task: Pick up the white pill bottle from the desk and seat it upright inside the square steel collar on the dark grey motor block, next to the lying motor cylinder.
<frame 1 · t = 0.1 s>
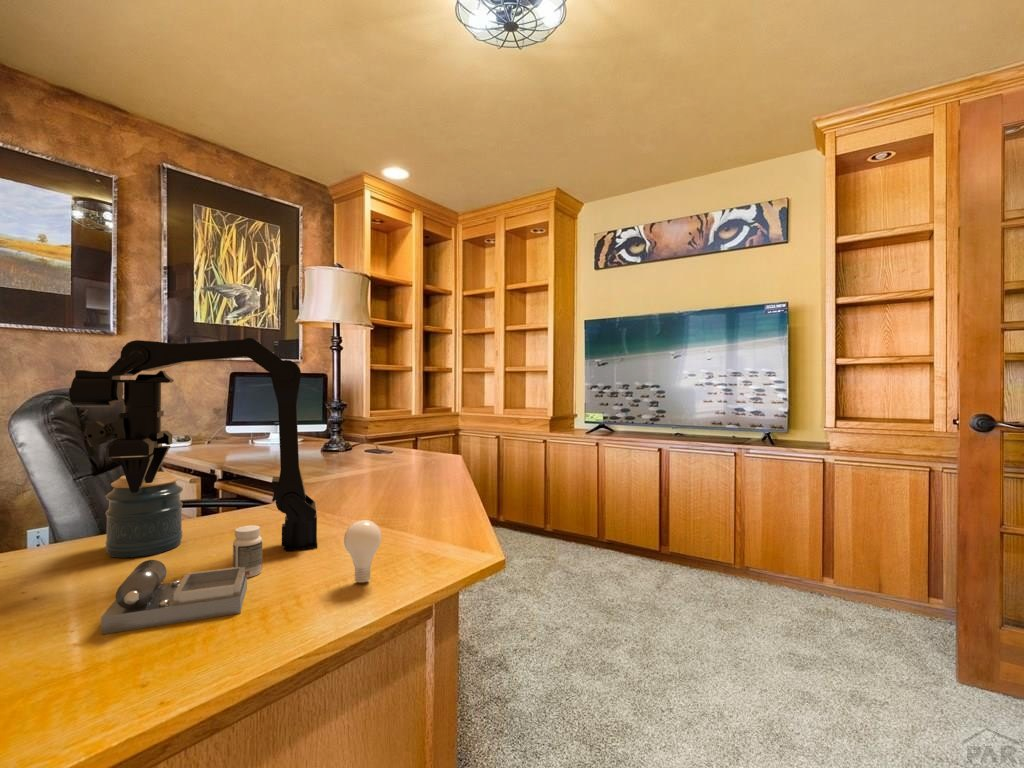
hand: (142, 487, 95), 15 cm above the table, tool pointing down, fingers open, 9 cm apart
pill bottle: (247, 574, 90), on the table
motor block: (181, 608, 76), on the table
canister: (145, 549, 103), on the table
lightbulb: (362, 583, 87), on the table
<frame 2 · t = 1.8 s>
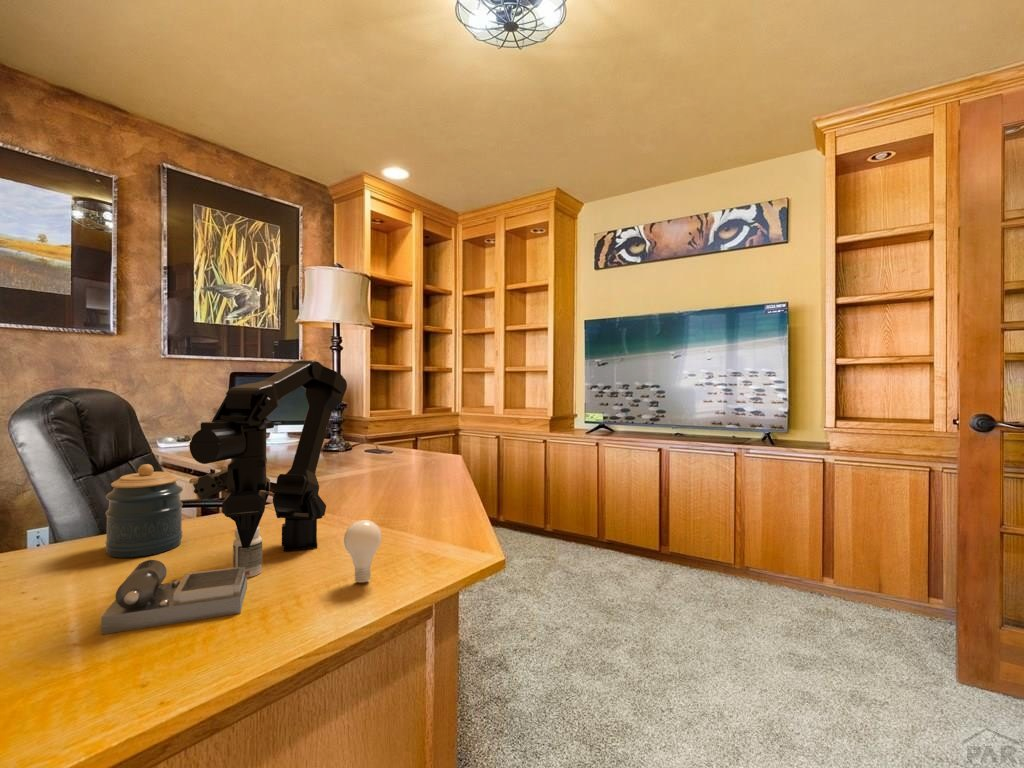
hand: (248, 539, 91), 6 cm above the table, tool pointing down, fingers open, 9 cm apart
nothing on the table moved.
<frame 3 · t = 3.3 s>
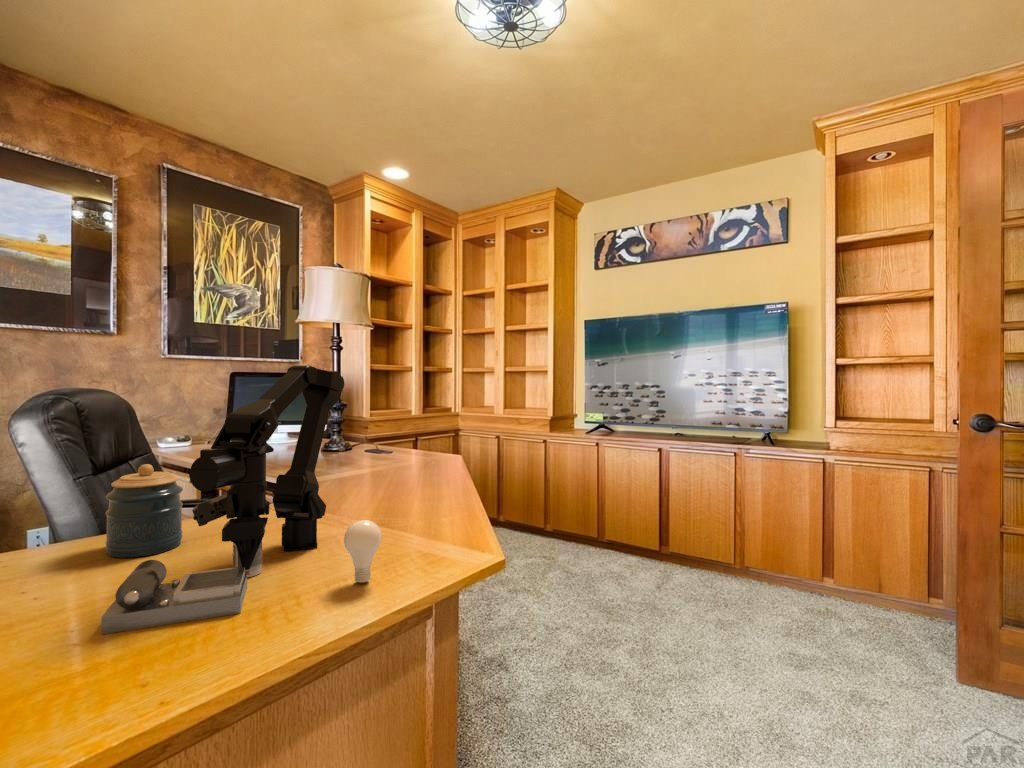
hand: (247, 564, 90), 2 cm above the table, tool pointing down, fingers closed on pill bottle, 5 cm apart
pill bottle: (247, 574, 90), on the table, touching gripper
everything else where it was.
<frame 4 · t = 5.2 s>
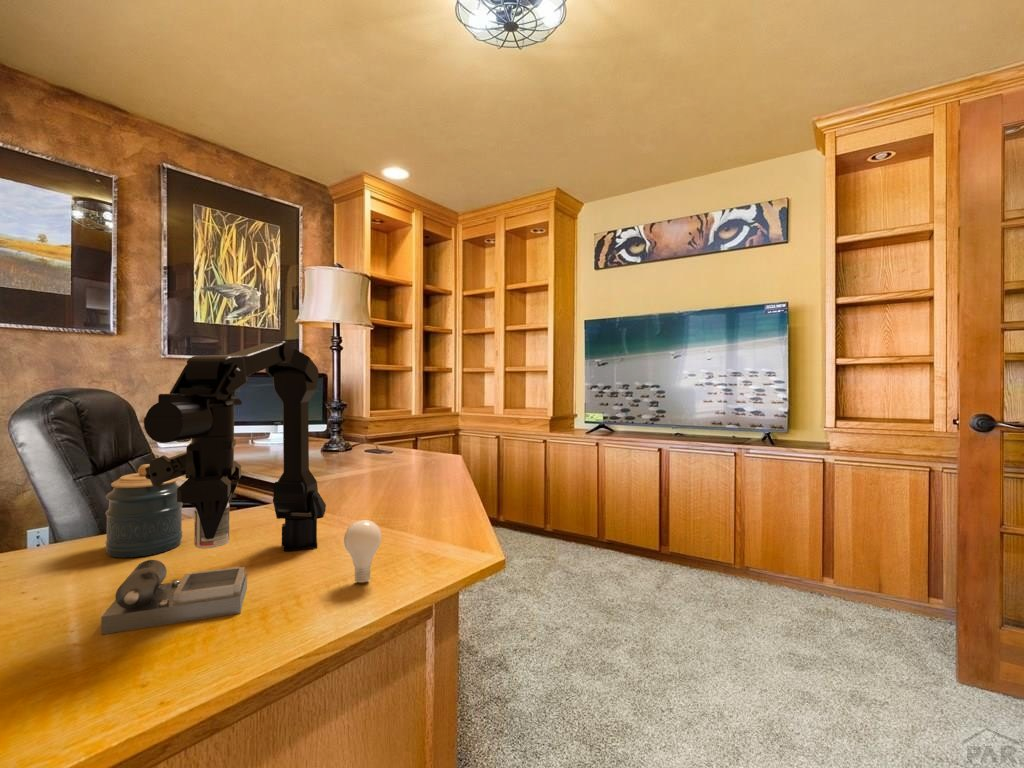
hand: (212, 533, 78), 11 cm above the table, tool pointing down, fingers closed on pill bottle, 5 cm apart
pill bottle: (212, 545, 78), point 9 cm above the table, touching gripper
everything else where it was.
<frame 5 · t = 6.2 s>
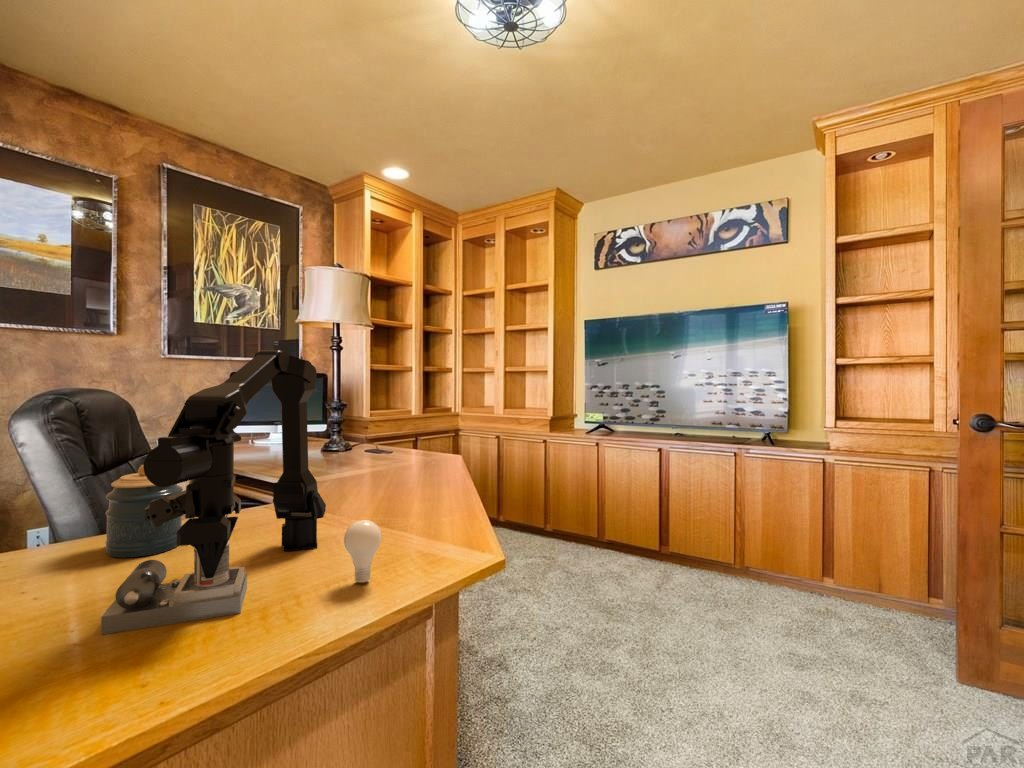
hand: (212, 571, 78), 5 cm above the table, tool pointing down, fingers closed on pill bottle, 5 cm apart
pill bottle: (211, 583, 78), point 3 cm above the table, touching gripper
everything else where it was.
when the fingers open (5 cm above the table, at t = 7.0 s): pill bottle stays where it is, resting on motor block.
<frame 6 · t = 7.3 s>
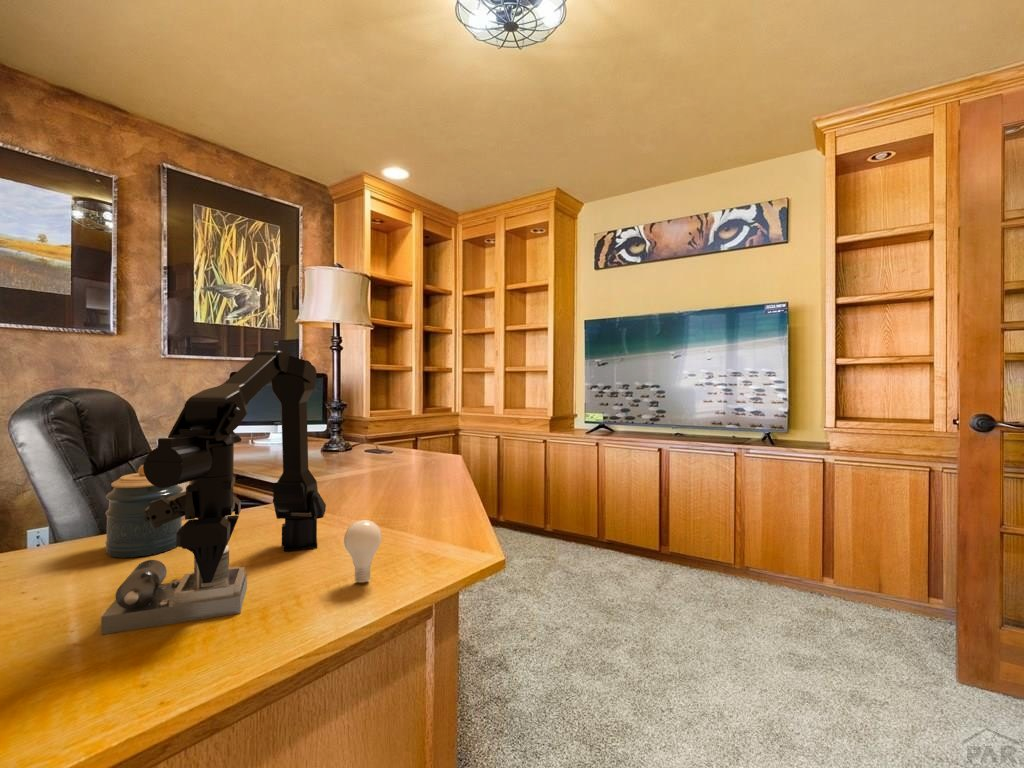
hand: (211, 572, 78), 5 cm above the table, tool pointing down, fingers open, 8 cm apart
pill bottle: (211, 589, 78), point 2 cm above the table, touching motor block
everything else where it was.
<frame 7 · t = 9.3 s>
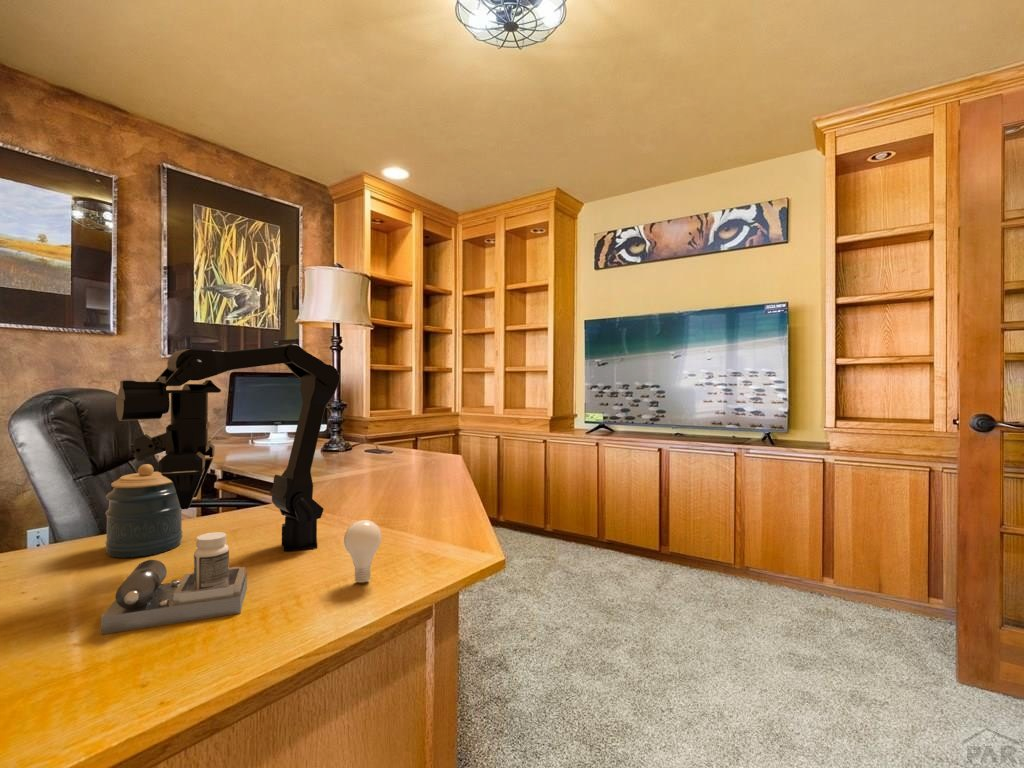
hand: (189, 503, 90), 13 cm above the table, tool pointing down, fingers open, 9 cm apart
nothing on the table moved.
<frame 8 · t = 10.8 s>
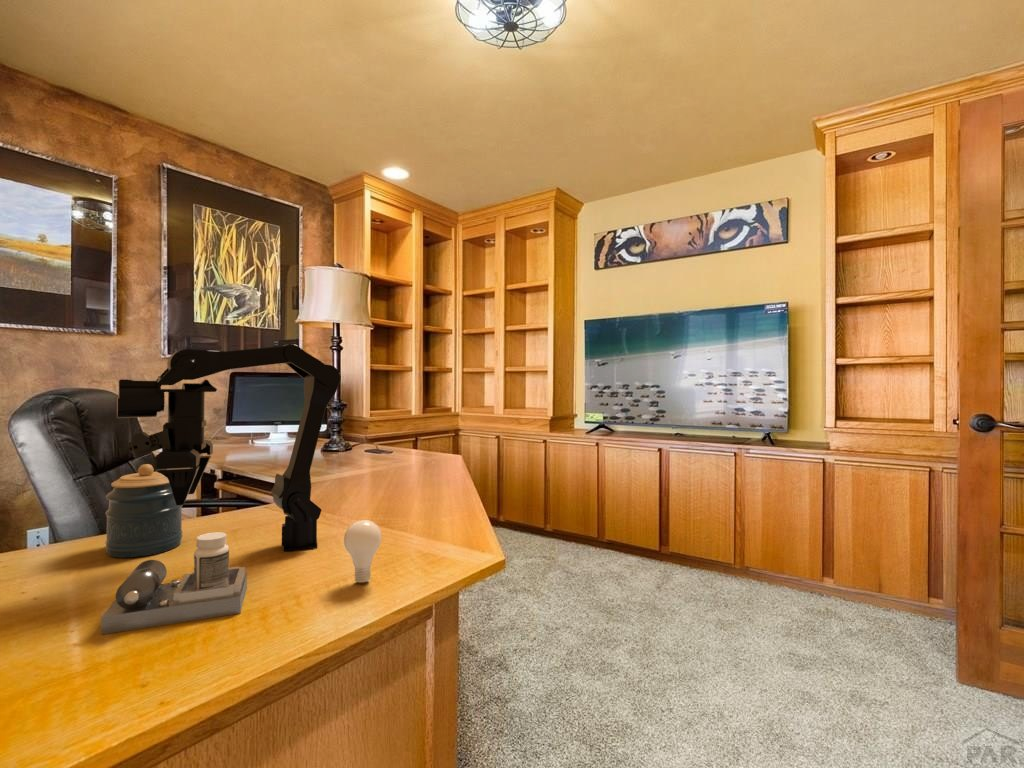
hand: (185, 499, 92), 13 cm above the table, tool pointing down, fingers open, 9 cm apart
nothing on the table moved.
at the end: pill bottle 0.1 cm from the target spot on the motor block, point 2.3 cm above the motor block's base; pill bottle tilted 0°; the gripper is holding nothing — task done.
